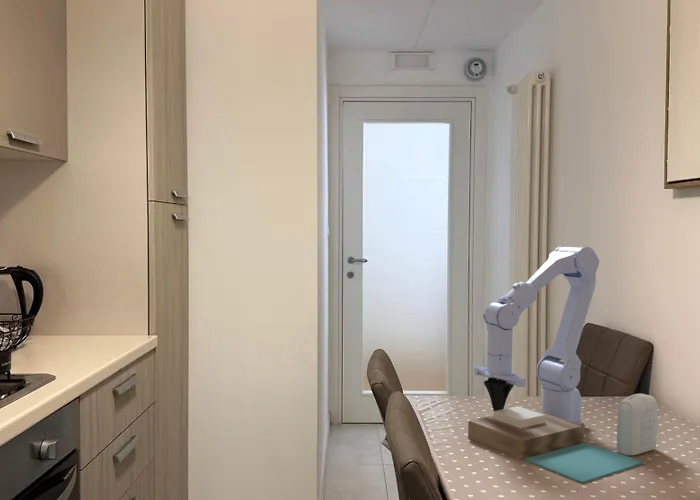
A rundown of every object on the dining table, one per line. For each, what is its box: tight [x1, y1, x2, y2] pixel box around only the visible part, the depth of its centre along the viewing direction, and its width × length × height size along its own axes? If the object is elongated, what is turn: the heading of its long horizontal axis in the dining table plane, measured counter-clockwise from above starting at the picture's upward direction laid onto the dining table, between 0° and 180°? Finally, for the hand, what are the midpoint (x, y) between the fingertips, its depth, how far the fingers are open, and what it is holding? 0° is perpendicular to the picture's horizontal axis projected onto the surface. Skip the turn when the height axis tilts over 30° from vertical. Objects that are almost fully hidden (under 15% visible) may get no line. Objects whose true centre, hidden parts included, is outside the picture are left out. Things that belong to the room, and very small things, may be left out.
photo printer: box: [616, 393, 659, 457], centre depth 138 cm, size 10×4×12 cm, turn 123°
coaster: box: [493, 406, 545, 428], centre depth 145 cm, size 8×8×2 cm
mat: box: [524, 442, 645, 484], centre depth 131 cm, size 20×14×1 cm
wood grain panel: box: [467, 407, 585, 460], centre depth 144 cm, size 20×16×4 cm
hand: (498, 410), depth 151 cm, fingers closed
